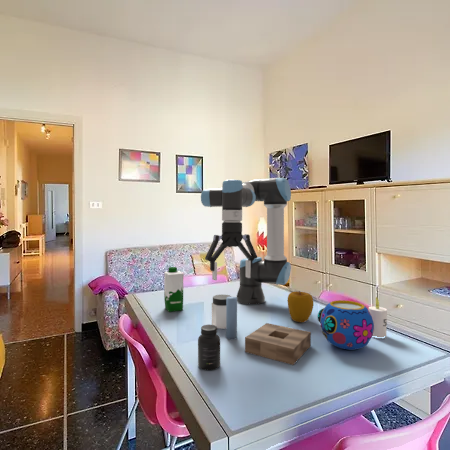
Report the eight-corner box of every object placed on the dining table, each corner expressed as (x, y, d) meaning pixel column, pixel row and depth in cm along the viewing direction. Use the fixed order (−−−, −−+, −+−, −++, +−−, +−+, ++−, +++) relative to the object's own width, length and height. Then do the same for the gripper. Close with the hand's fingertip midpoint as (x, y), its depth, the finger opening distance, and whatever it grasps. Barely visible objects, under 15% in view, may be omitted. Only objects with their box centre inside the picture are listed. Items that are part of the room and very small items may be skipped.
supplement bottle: (197, 361, 101) (197, 323, 100) (219, 360, 101) (219, 322, 101) (197, 371, 94) (197, 331, 94) (221, 370, 95) (221, 330, 94)
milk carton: (180, 305, 161) (180, 266, 161) (185, 310, 153) (185, 269, 153) (162, 307, 158) (162, 267, 157) (167, 312, 150) (167, 270, 149)
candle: (379, 340, 118) (380, 300, 118) (364, 334, 124) (365, 296, 123) (390, 337, 121) (391, 298, 121) (375, 331, 127) (376, 294, 126)
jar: (236, 327, 131) (236, 298, 131) (218, 330, 127) (218, 300, 127) (226, 320, 139) (226, 293, 139) (209, 323, 136) (209, 295, 135)
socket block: (266, 336, 122) (266, 323, 122) (310, 346, 113) (310, 332, 112) (245, 352, 107) (245, 337, 107) (293, 365, 98) (293, 349, 98)
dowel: (229, 334, 123) (230, 295, 123) (238, 336, 121) (239, 297, 120) (224, 337, 120) (224, 298, 119) (233, 340, 118) (233, 299, 117)
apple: (314, 318, 143) (315, 289, 142) (310, 326, 133) (311, 295, 132) (290, 315, 147) (290, 287, 147) (284, 322, 137) (284, 292, 137)
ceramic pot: (314, 336, 122) (314, 297, 121) (361, 337, 121) (362, 298, 120) (327, 357, 104) (328, 311, 104) (382, 358, 103) (383, 312, 103)
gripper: (203, 221, 111) (203, 282, 111) (266, 221, 120) (265, 278, 121) (196, 221, 118) (196, 278, 118) (257, 221, 127) (256, 274, 128)
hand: (231, 278), depth 120 cm, fingers open, 13 cm apart
